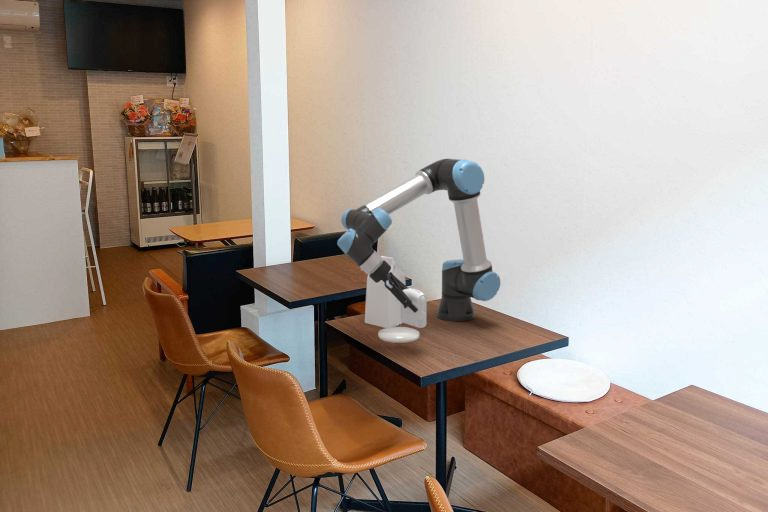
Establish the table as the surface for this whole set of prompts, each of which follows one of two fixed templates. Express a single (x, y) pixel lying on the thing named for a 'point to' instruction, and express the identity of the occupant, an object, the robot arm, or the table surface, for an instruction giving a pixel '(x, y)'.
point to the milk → (383, 300)
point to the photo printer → (420, 302)
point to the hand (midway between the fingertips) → (422, 312)
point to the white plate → (398, 334)
